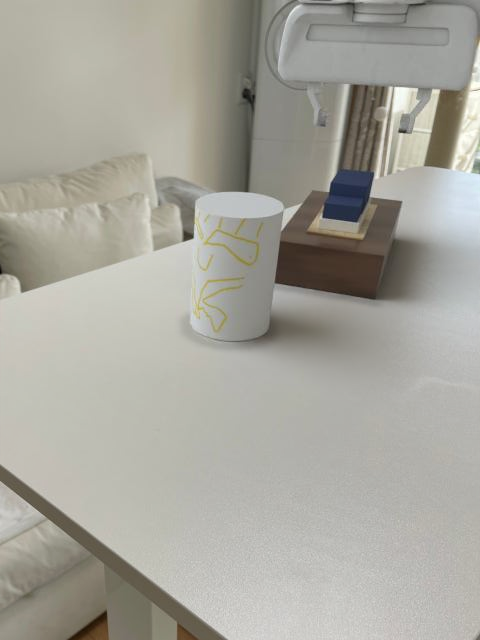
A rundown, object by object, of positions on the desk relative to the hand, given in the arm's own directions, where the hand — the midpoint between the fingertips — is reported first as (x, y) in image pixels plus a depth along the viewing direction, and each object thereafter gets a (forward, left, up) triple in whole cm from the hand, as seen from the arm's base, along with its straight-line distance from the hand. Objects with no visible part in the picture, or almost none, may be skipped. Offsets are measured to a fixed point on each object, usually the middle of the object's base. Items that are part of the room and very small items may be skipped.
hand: (361, 129), depth 74 cm
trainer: (0, +1, -10) cm, 10 cm away
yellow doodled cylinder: (+15, +19, -15) cm, 29 cm away
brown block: (0, 0, -15) cm, 15 cm away
